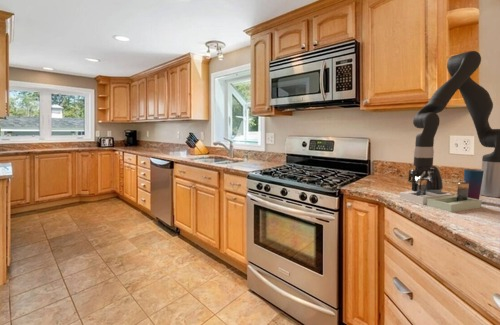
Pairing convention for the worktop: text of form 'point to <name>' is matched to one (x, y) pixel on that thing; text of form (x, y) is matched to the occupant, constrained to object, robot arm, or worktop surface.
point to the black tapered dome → (437, 181)
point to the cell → (422, 187)
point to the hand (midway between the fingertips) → (421, 190)
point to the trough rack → (453, 203)
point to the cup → (473, 182)
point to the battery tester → (422, 199)
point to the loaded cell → (462, 191)
